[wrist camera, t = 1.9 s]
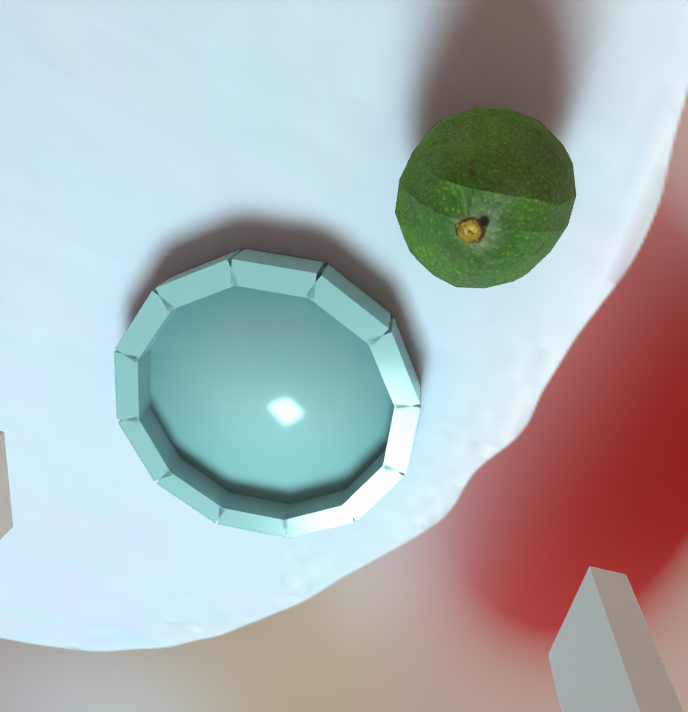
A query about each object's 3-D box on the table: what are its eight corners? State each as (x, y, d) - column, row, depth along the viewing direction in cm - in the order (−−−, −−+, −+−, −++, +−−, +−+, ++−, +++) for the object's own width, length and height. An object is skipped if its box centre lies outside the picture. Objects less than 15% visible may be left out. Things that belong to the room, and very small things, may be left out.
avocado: (423, 89, 29) (421, 82, 18) (573, 126, 29) (660, 140, 18) (385, 239, 33) (364, 309, 22) (519, 273, 32) (565, 360, 22)
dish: (130, 229, 34) (109, 238, 32) (443, 281, 33) (444, 295, 31) (136, 483, 42) (120, 504, 40) (389, 533, 41) (387, 558, 39)
